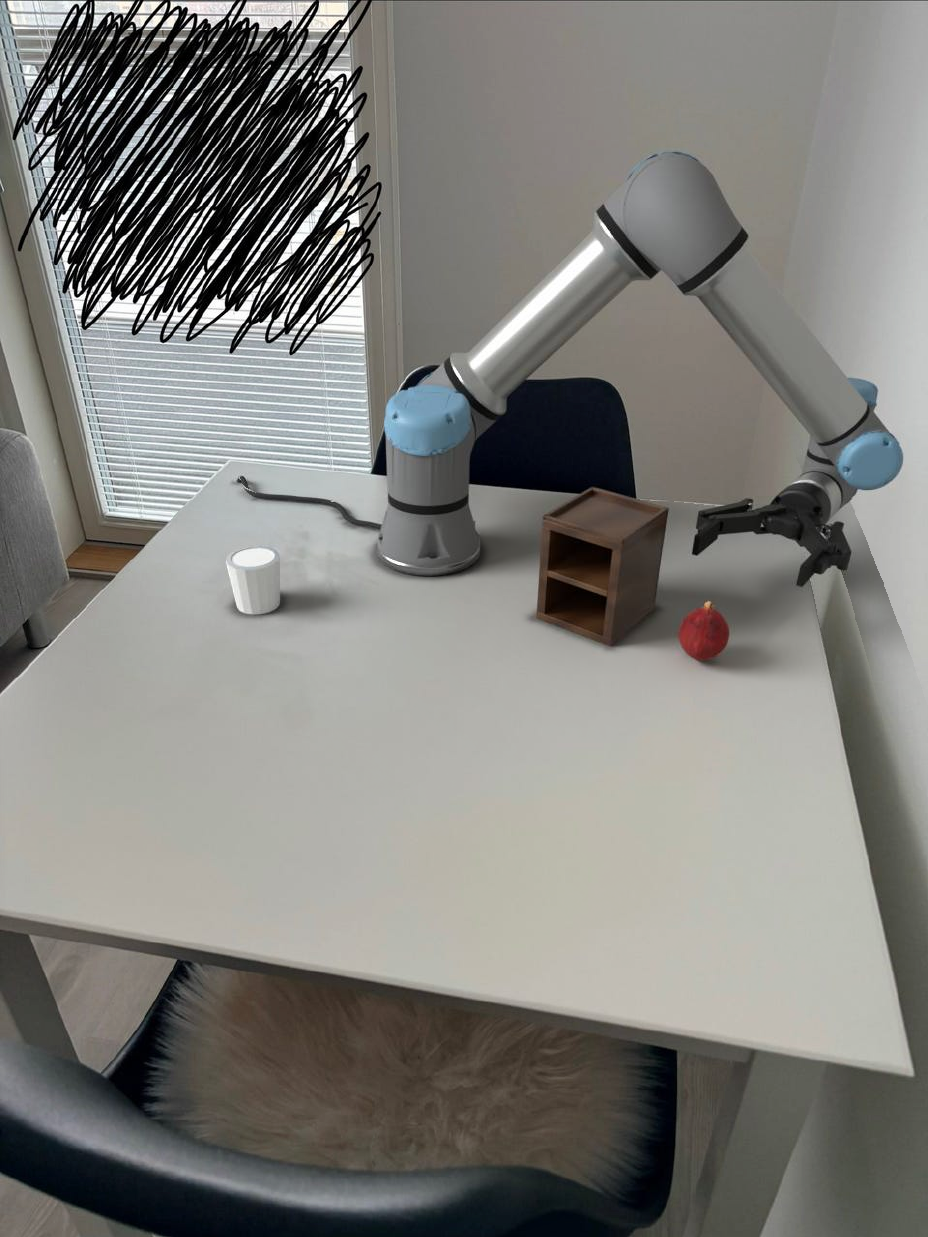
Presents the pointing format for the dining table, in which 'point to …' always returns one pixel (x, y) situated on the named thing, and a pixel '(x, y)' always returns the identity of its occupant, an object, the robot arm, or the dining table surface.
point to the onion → (704, 633)
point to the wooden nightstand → (600, 563)
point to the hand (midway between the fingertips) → (746, 560)
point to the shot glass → (255, 578)
